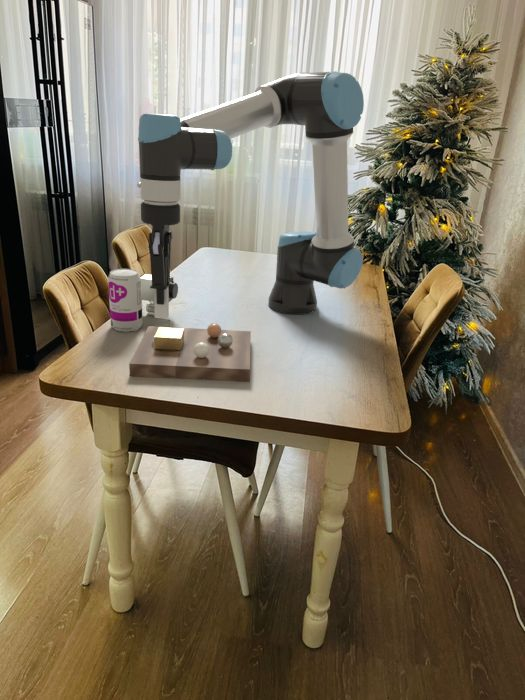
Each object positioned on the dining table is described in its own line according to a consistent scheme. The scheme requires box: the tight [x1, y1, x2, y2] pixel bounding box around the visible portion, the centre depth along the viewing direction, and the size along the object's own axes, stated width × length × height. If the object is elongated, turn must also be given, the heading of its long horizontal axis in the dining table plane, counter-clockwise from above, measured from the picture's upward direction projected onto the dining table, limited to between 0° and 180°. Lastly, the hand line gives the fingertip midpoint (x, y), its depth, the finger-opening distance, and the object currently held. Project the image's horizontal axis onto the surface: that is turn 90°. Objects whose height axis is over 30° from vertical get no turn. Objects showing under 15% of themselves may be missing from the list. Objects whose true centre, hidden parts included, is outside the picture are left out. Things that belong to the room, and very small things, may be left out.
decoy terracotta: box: [206, 323, 222, 338], centre depth 124 cm, size 4×4×4 cm
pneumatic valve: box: [140, 273, 179, 317], centre depth 143 cm, size 6×12×12 cm, turn 78°
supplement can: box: [107, 268, 144, 333], centre depth 132 cm, size 8×8×15 cm
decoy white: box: [194, 342, 209, 358], centre depth 113 cm, size 4×4×4 cm
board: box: [128, 325, 252, 383], centre depth 120 cm, size 26×22×3 cm
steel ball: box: [218, 333, 233, 348], centre depth 119 cm, size 4×4×4 cm
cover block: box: [154, 326, 185, 350], centre depth 119 cm, size 6×6×3 cm
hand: (161, 316), depth 107 cm, fingers closed
